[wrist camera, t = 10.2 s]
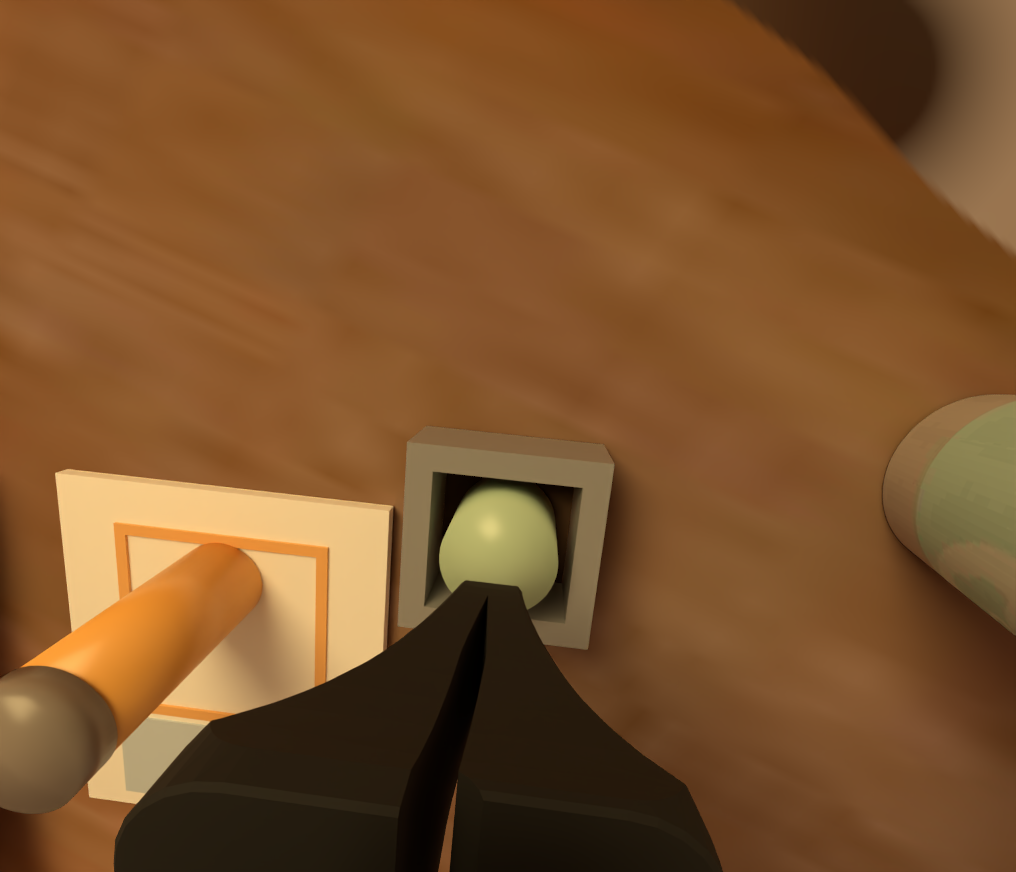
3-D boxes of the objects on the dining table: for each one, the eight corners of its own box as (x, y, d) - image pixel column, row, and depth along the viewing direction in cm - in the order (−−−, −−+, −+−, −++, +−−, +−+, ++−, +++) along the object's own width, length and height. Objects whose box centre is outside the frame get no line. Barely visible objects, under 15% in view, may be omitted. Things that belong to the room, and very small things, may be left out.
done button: (549, 573, 17) (551, 622, 15) (453, 561, 18) (435, 608, 15) (560, 480, 17) (564, 512, 14) (460, 469, 17) (443, 498, 14)
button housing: (581, 606, 18) (587, 649, 16) (416, 586, 18) (397, 626, 16) (603, 444, 17) (614, 464, 14) (426, 425, 17) (407, 441, 15)
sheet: (378, 825, 21) (373, 840, 20) (99, 786, 21) (87, 799, 21) (393, 506, 18) (388, 511, 17) (68, 469, 18) (52, 473, 18)
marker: (265, 623, 18) (88, 822, 11) (184, 613, 19) (-42, 804, 11) (261, 546, 18) (69, 707, 10) (177, 537, 18) (-71, 689, 11)
